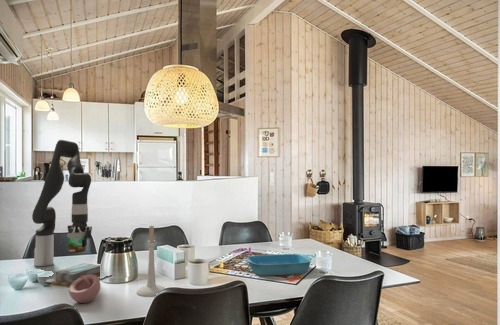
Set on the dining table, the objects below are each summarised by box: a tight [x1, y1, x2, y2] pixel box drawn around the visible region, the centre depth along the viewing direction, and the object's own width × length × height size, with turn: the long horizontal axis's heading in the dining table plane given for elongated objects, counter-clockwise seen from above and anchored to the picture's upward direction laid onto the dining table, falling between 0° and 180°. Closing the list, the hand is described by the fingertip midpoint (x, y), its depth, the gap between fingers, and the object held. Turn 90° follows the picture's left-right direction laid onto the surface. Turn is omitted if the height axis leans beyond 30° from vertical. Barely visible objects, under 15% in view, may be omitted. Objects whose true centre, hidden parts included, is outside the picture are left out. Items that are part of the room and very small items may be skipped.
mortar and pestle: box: [68, 274, 101, 304], centre depth 158 cm, size 12×12×12 cm
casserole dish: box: [244, 253, 312, 277], centre depth 207 cm, size 37×22×7 cm, turn 104°
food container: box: [66, 231, 87, 254], centre depth 192 cm, size 12×6×10 cm, turn 168°
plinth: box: [51, 262, 102, 287], centre depth 192 cm, size 22×22×5 cm
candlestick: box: [136, 225, 166, 298], centre depth 172 cm, size 13×13×30 cm
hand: (79, 246), depth 192 cm, fingers closed on food container, 5 cm apart
